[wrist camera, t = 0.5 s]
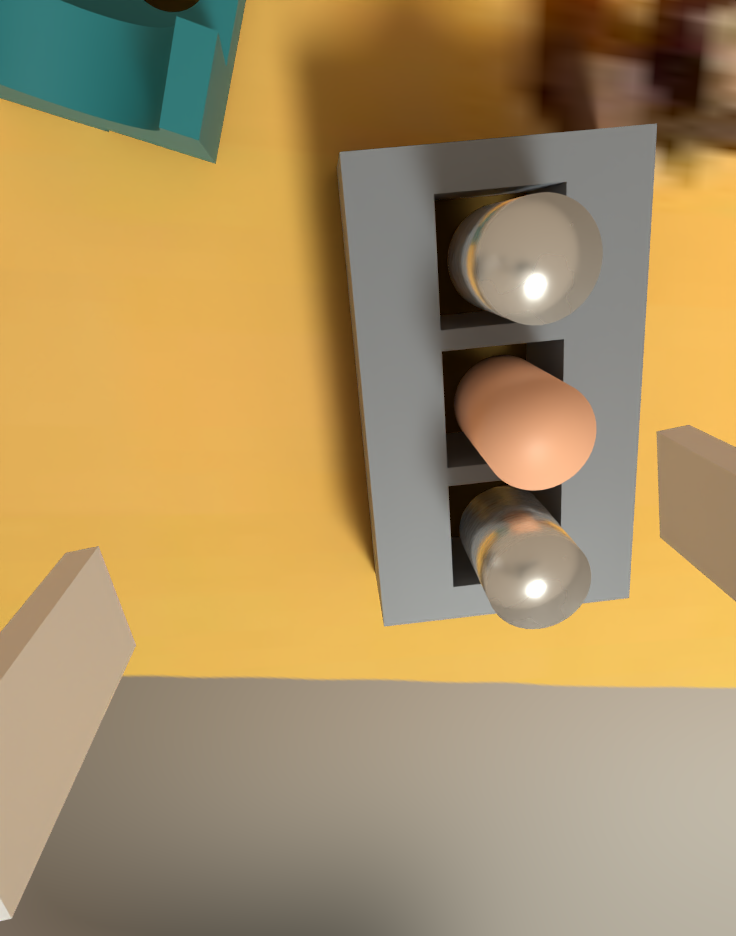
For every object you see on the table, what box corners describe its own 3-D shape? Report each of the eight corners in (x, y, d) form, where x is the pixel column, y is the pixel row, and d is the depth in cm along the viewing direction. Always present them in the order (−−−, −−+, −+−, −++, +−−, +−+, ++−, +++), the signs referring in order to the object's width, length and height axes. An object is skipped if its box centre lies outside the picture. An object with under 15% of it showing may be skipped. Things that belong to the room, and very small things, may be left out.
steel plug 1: (449, 314, 30) (480, 331, 25) (445, 208, 29) (476, 198, 23) (547, 305, 31) (600, 318, 25) (548, 198, 29) (605, 186, 23)
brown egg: (455, 451, 33) (484, 495, 27) (451, 360, 31) (481, 386, 25) (546, 442, 33) (594, 484, 27) (546, 350, 31) (598, 374, 26)
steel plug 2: (461, 570, 35) (488, 634, 29) (457, 490, 34) (486, 542, 28) (545, 560, 35) (589, 622, 29) (546, 481, 34) (592, 530, 28)
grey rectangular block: (375, 573, 41) (384, 626, 35) (336, 168, 33) (339, 152, 27) (586, 549, 41) (628, 597, 36) (599, 144, 33) (657, 123, 28)
